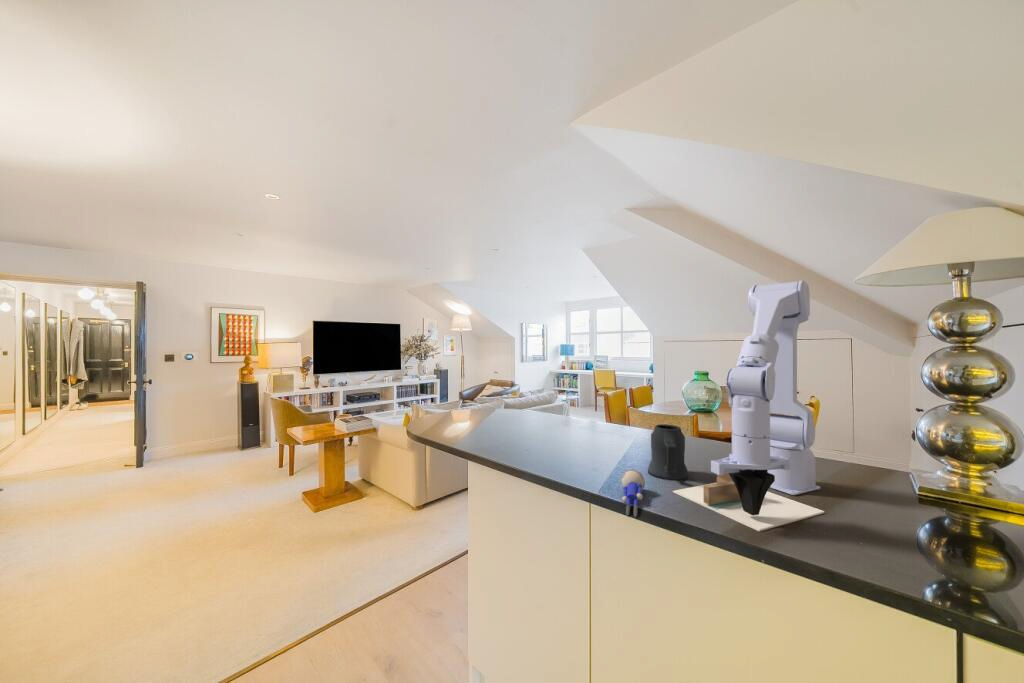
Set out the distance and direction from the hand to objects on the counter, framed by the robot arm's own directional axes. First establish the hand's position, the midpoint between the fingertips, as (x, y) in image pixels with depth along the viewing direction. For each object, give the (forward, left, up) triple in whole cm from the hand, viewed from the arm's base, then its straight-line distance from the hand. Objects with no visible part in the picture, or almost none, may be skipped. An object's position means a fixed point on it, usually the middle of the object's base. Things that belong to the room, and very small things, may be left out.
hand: (750, 512), depth 66 cm
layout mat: (-6, -6, -1) cm, 8 cm away
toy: (+13, -14, -2) cm, 19 cm away
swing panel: (-2, -6, 0) cm, 7 cm away
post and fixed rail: (-8, -9, -1) cm, 12 cm away
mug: (-4, -23, -2) cm, 23 cm away
